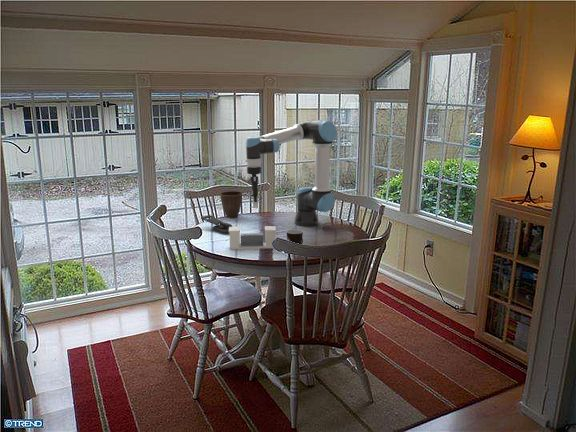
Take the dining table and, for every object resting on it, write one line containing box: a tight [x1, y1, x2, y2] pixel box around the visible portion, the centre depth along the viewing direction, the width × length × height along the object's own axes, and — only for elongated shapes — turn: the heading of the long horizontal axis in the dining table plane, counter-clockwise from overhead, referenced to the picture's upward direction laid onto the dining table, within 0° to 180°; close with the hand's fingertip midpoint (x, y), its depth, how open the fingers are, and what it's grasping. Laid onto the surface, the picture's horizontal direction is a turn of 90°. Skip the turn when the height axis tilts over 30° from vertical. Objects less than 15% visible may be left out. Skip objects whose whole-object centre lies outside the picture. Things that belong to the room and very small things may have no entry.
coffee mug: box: [286, 228, 304, 245], centre depth 256 cm, size 12×9×10 cm
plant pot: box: [219, 190, 244, 219], centre depth 326 cm, size 15×15×16 cm
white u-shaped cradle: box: [229, 225, 277, 250], centre depth 263 cm, size 25×8×10 cm, turn 94°
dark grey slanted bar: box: [200, 214, 233, 235], centre depth 296 cm, size 9×7×25 cm
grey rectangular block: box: [240, 232, 264, 246], centre depth 263 cm, size 12×4×6 cm, turn 94°
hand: (255, 204), depth 268 cm, fingers open, 13 cm apart
